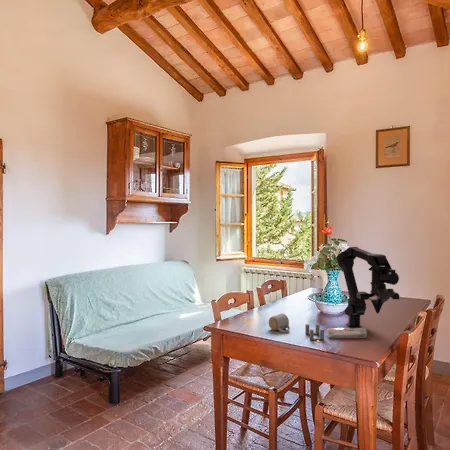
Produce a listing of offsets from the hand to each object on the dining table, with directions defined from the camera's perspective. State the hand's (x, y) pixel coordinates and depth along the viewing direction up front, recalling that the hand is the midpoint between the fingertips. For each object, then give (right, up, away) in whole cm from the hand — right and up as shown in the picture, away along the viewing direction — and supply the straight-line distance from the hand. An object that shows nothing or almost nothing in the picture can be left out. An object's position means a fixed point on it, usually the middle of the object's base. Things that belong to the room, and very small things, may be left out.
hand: (377, 313), depth 179 cm
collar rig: (-30, -11, -1) cm, 33 cm away
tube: (-15, -12, 0) cm, 19 cm away
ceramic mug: (-45, -11, +10) cm, 48 cm away
